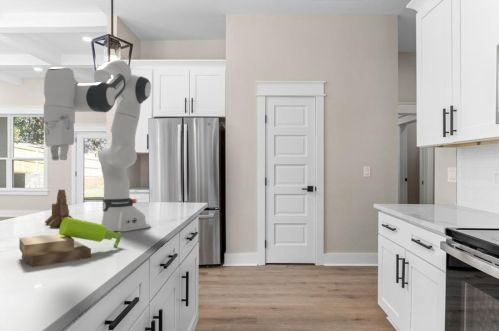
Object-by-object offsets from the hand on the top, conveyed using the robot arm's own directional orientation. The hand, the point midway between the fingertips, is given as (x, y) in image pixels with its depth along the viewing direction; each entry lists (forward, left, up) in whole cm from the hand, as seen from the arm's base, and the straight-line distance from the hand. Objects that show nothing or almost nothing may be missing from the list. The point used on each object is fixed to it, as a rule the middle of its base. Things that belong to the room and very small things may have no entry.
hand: (59, 160), depth 110 cm
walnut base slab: (0, 0, -32) cm, 32 cm away
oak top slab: (+3, 0, -28) cm, 28 cm away
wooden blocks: (-17, -63, -32) cm, 72 cm away
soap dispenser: (-1, +1, -22) cm, 22 cm away
